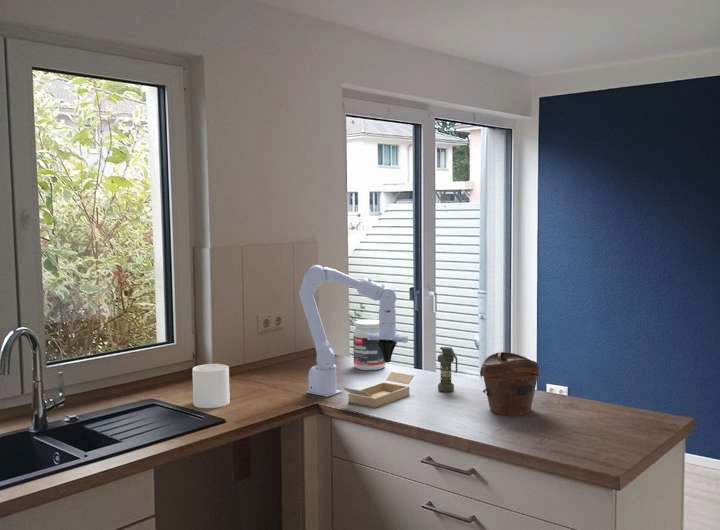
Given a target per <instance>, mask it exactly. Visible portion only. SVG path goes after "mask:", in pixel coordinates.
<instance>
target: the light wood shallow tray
mask: <svg viewBox="0 0 720 530" xmlns="http://www.w3.org/2000/svg"><path fill="white" fill-rule="evenodd" d="M359 390H360V391H365V392H367V393H368V394H370V395H371V396H372V397H368V396H363V395H358V394H353V393H349V392H348V403H349V404H353V405H357V406H362V407H368V408H373V409H377V408H380V407H382V406H385V405H388V404H391V403H393V402H395V401H399V400H401V399H404V398H406V397H409V396H410V386H406V385H402V384H396V383H395V384H394V383H392V382H383V381H382V382H379V383H377V384H374V385H372V386H371V385H370V386H368V387H365V388H361V389H359Z"/></svg>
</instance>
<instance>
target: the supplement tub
mask: <svg viewBox="0 0 720 530" xmlns="http://www.w3.org/2000/svg"><path fill="white" fill-rule="evenodd" d="M354 326H355V329H354V331H353V335H352V337H353V366H354V368H355V369H357V370H362V371H377V370H381V369H383V368H385V366H386V363H387V362H385V361H384V357H383V354H382V351H381V349H380V347H379V345H378V342H379V340H367V334H379V319H360V320H356V321H355V322H354Z"/></svg>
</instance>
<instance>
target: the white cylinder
mask: <svg viewBox="0 0 720 530" xmlns="http://www.w3.org/2000/svg"><path fill="white" fill-rule="evenodd" d="M191 375H192V402H193V406H194V407H196V408H198V409H217V408H222V407H225V406H228V405H229V404H230V401H231V399H230V397H231V395H230V367H229V365H227V364H223V363H206V364H199V365H196V366H193V368H192V374H191Z"/></svg>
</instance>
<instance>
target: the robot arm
mask: <svg viewBox="0 0 720 530" xmlns="http://www.w3.org/2000/svg"><path fill="white" fill-rule="evenodd" d="M302 279H303V280H302V283H301V285H300V290H299V291H298V295H299V298H300V301H301V305H302V308H303V311H304V312H303V313H304V314H305V318H306V320H307V323H308V324H307V325H308V328H309V331H310V334H311V337H312V340H313V343H314V347H315V352H316V364H315V365H313V366H312V367H310V369H309V370H308V390H307V392H306V393H308V394H313V395H316V396H317V395H318V396H323V397H331V396H335V395H338V394H341V393H343V390H341V389H338V383H337V381H338V380H337V364H335V363H336V354H335V353H336V352H335V350H334V349H333V348H332V347H331V345H330V343H329V340H328V338H327V335H326V332H325V328H324V324H323V322H322V318H321V315H320V313H319V309H318V305H317V303H316V299H315V296H314V295H315V293H316V291H317V289H318V288H319V287H321V285H323V284H324V282H325V281H326V283H327V284H328V283H331V282H336V283H339V284H342V285H345V286H348V287H351V288H352V289H356V291H357V293H358V295H360V296H362V297H365V298H367V299H370V300H372V301H376V302H377V301H378V302H379V303H378V304H379V305H378V306H379V307H378V308H379V309H378V320H379V334H367V340H379V342H378V345H379V347H380V349H381V351H382V354H383V357H384V361H385V362H386V363H390V362H391V360H392V356H393V352H394V350H395V348H396V346H397V344H398V343H403V344H406V343H408V342H409V337H408V336H405V335H401V334H396V330H397V328H396V327H397V326H396V325H397V324H396V323H397V322H396V319H397V318H396V313H397V312H396V301H397V296H396V292H395V291H394V290H393V289H392V288H391V287H389V286H386V285H385V284H383V283H382V284H380V283H377V282H375V281H373V279H372V278H363V279H361V280H359V279H358V278H354V277H353V276H351V275H348V274H346V273H344V272H341V271H339V270H337V269H334V268H332V267H331V268H330V267H327V266H324V267H323V266H322V265H320V264H313V265H311V266H310V267H309V268H308V270H307V271H306V273H305V274H304V276H303V278H302Z"/></svg>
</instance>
